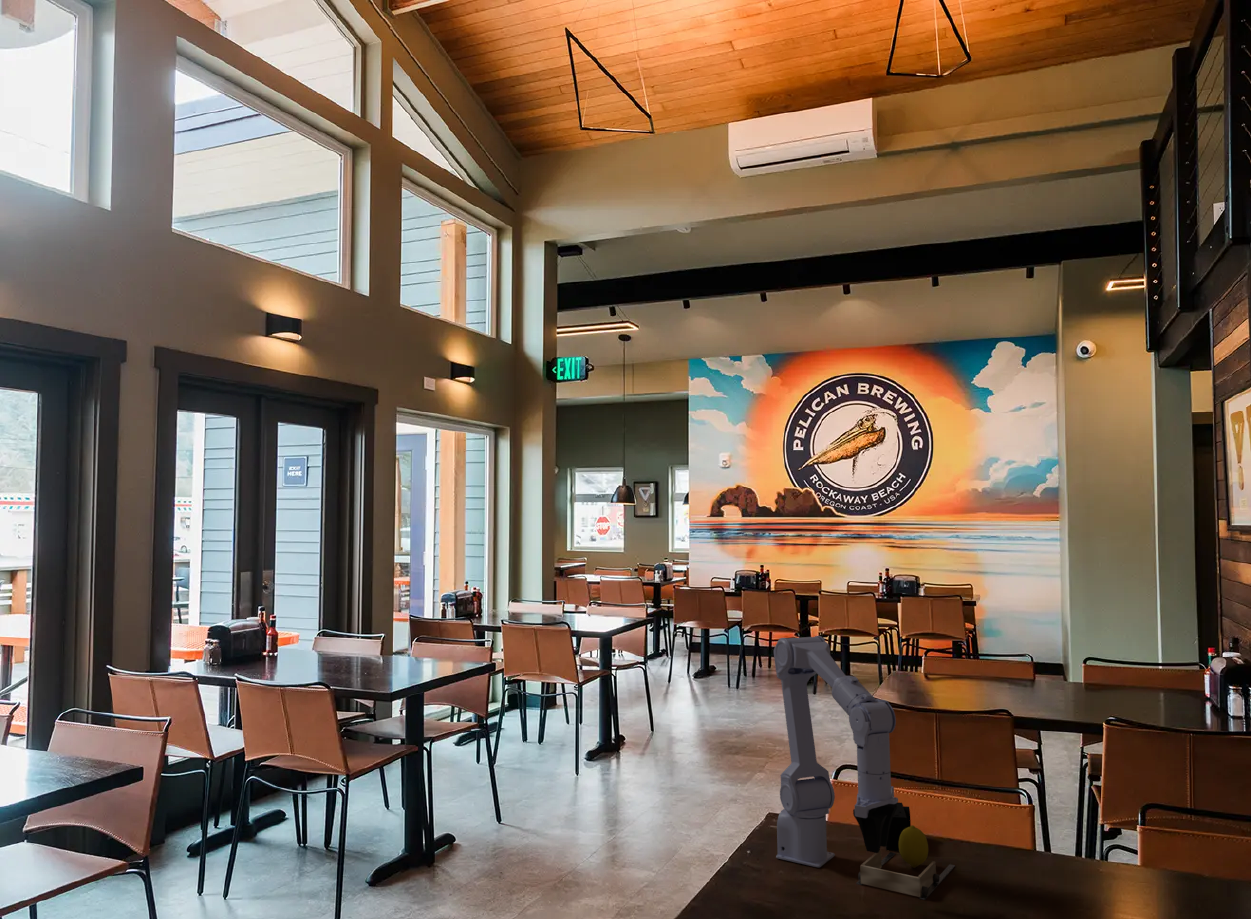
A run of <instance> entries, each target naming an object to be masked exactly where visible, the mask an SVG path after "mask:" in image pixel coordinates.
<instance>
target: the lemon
mask: <svg viewBox="0 0 1251 919" xmlns="http://www.w3.org/2000/svg"><path fill="white" fill-rule="evenodd" d="M898 852H899V854H900V857H901V858H902V860H903V861H904V862H905V863H907V864H908V865H910V866H911V867H912V868H914V869H915V868H917V867H918V866H919V865H922V864H923V863H925V861H926V860H927V858H928V857H929V856H928V854H929V844H928V840H927V837H926V834H925V833H924V832H923V831H922V830H921V829H920V828H918V827H916V826H915V825H912V824H911V826H910V827H908V828H906V829H904V830H903V831H902V832H901V834H900V838H899V851H898Z"/></svg>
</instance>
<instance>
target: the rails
mask: <svg viewBox="0 0 1251 919" xmlns="http://www.w3.org/2000/svg"><path fill="white" fill-rule="evenodd" d="M895 855H896V853H895V852H893V851H890V852H889V853H888V854H886V856H885V857H883V858H881V866H882V867H883V866H884V865H886V863H887V862H889V861H890V860H891V859H892V858H893V857H894V856H895ZM955 867H956V866H955V864H951V863H950V864H948V865H947V867H945V869H944V870H943V871H942V872H941V873H940V874H939V877H940V879H939V882H933V883H932V884H931V886H930V887H929V888H928V895H923V894H922V895H921V897H919V900H924V901H925V900H927V899H928V898H929V897H930V896H931V894H932V893H933V892H934V891H935V890H936V889H937V887H938V886H939V885H940V884H941V883H942V882H943V881H944V880H945V878H947V876H948V875H949V874H950V872H951V871H953V869H954V868H955ZM855 884H856V885H859V886H862V885H863V884H861V880H859V879H858V881H857V882H856V883H855Z"/></svg>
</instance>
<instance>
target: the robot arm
mask: <svg viewBox="0 0 1251 919" xmlns="http://www.w3.org/2000/svg"><path fill="white" fill-rule="evenodd" d="M773 656H774V657H773V658H774V665H775V666H774V667H775V672H776V673H775V674H776V678H777V679H779V680H780V682H781V684H780V685H781V690H782V697H783V706H784V714H785V722H786V723H785V724H786V730H787V731H786V732H787V738H788V745H789V746H788V747H789V748H788V749H789V756H790V760H791V762H790V764H789V765H788V766H787V768H785V770H784V771H782V772H781V774H780V789H779V800H780V802H781V803H780V804H781V805H782V807H783V809H781V810H780V812H779V814H778V818H777V821H776V831H777V832H776V835H777V836H776V837H777V838H776V841H777V843H776V844H777V854H776V856H775V859H778V860H779V859H780V860H783V861H788V862H793V863H797V864H799V865H801V864H802V865H806V866H810V867H814V868H821V867H822V866H824V865H825V864H826V863H828V862H829V861H830V860H831V859H833V858H834V857H835V855H836V854H835V853H834V852H831V851H830V852H829V851H828V848H827V847H828V843H827V815H828V814H830V809H831V808H832V807H833V806H834V803H835V799H836V798H835V797H836V796H835V790H834V786H833V784H832V781H831V779H830V773H829V772H830V771H829V770H827V769H826V768H825V767H823V765H821V764H820V763H819V762H818V760H817V752H816V744H815V738H814V730H813V723H812V722H813V721H812V715H811V714H812V713H811V707H810V700H809V693H808V686H807V684H808V683H809V680H810V679H811V678H812V677H814V676H815V675H816V674H817V675H818V676H819V677H820V678H821V679H822V680H823V681H824V682H826V684H827V685H829V687H830V688H831V696H832V698H833V699H834V701H835V702H836V703H837V704H838V705H839V706H840V707H841V709H842V710H843V711H844V712H845V713H846V714H847V716H848V723H849V726H850V728H851V731H852V734H853V735H852V736H853V737H852V738H853V742H854V744H855V745H856V761H857V762H856V763H857V764H856V766H857V795H856V803H855V804H854V808H853V811H852V812H853V813H852V814H853V817H854V819H855V820H856V822H857V824H858V825H859V828H860V832H861V834H862V838H863V843H864V847H865V850H866V851H867V852H870V853H873V854H874V853H879V851H880V850H881V847H883V848H886V845H887V841H888V835H889V829H890V825H891V821H892V818H893V816H894V813H895V811H896V809H897V805H896V803H897V802H898V803H899V798H898V797H896V796H895V789H894V788H895V787H894V786H893V785H892V781H891V780H892V778H891V774H892V773H891V749H890V748H891V746H890V734H891V733H893V732H894V730H895V728H896V723H897V718H896V713H895V710H894V709H893V707H892V705H891V704H890V702H889V701H888V700H885V699H879V698H875V697H874V696H873V695H872V694H871V693H870V691H868V689H866V687H865V686H864V685H863V684H862V683H861V682H860V680H859V679H858V677H856V676H852V675H846V674H845V673H844V671H843V670H842V669H841V668H840V666H839V665H838V663H837V662H836V661H835V659H833V657H832V656H831V648H830V644H829V643H828V642H827V641H826V639H825V638H824V637H823V636H821V635H815V636H806V637H804V636H803V637H791V638H790V637H788V638H787V637H781V638H779V639H778V640H777V642H776V644H775V646H774V648H773ZM803 778H804V779H803ZM805 778H806V779H805Z"/></svg>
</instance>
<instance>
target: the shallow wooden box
mask: <svg viewBox="0 0 1251 919" xmlns="http://www.w3.org/2000/svg"><path fill="white" fill-rule="evenodd" d="M881 860H882V850H881V849H880V851H879V853H874V852H873V853H872V855H871V856H869V857H868V858H867V859H866V860H865V861H864V862H863V863H861V864H860V866H859V867H860V868H859V869H860V870H859V872H858V873H857V874H858V875H857V879H858V881H859V880H861V884H862V885H867V886H871V887H875V888H878V889H879V888H880V889H882V890H883V889H884V890H888V891H892V892H897V893H902V894H904V895H909V896H914V897H918V898H920V897H921V895H922V894H923V895H928V888H929V887H930V886H931V884H932V883H933V882H939V879H940V877H939V875H940V874H937V867H936V861H933V860H932V861H931V862H930V864H929V865H927V867H926V868H924V869H923V871H922V872H921V873H920V874H918V876H914V875H909V874H905V873H900V872H896V871H891V870H887V869H882V868H883V866H881Z"/></svg>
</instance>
